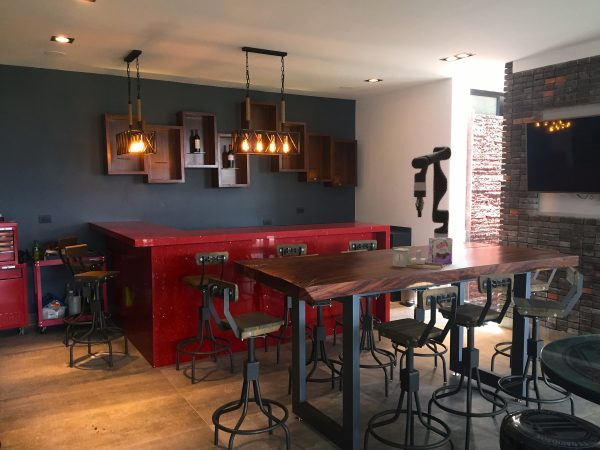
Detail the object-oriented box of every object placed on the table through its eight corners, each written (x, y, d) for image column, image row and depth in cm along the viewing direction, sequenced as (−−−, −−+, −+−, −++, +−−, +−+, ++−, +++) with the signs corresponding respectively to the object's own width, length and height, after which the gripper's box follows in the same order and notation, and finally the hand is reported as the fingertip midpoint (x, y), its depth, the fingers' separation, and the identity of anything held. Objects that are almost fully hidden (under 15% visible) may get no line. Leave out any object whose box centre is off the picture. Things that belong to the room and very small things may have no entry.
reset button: (399, 255, 317) (399, 248, 316) (406, 255, 315) (406, 249, 314) (397, 256, 313) (397, 249, 312) (404, 256, 311) (404, 250, 310)
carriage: (413, 261, 315) (413, 249, 314) (426, 262, 311) (426, 250, 310) (410, 263, 307) (410, 251, 307) (423, 264, 304) (423, 251, 303)
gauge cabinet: (397, 263, 320) (397, 248, 320) (409, 264, 317) (410, 248, 316) (392, 266, 311) (393, 250, 310) (405, 267, 307) (405, 250, 307)
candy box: (432, 264, 317) (432, 238, 316) (427, 263, 323) (428, 237, 321) (452, 263, 320) (452, 238, 318) (447, 262, 325) (448, 237, 324)
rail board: (409, 264, 317) (410, 259, 317) (443, 267, 308) (443, 262, 307) (405, 267, 308) (405, 262, 308) (439, 269, 299) (440, 264, 298)
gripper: (423, 190, 308) (423, 218, 310) (428, 189, 319) (428, 216, 321) (411, 190, 311) (410, 218, 313) (416, 189, 323) (416, 216, 325)
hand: (419, 217), depth 317 cm, fingers closed
